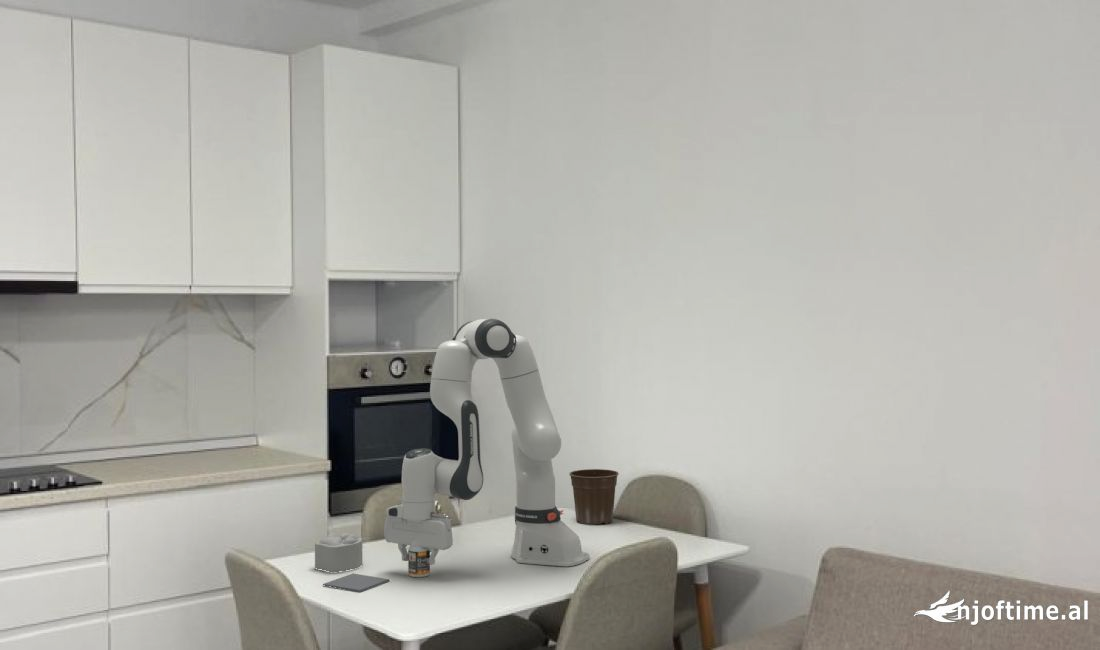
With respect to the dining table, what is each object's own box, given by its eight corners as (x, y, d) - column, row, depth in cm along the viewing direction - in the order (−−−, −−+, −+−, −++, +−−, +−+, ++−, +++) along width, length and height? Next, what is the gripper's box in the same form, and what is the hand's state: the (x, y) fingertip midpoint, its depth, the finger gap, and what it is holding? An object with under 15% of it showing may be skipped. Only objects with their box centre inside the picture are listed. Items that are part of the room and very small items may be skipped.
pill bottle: (420, 579, 283) (420, 541, 283) (403, 576, 286) (403, 538, 286) (434, 574, 288) (434, 537, 288) (417, 571, 291) (417, 534, 291)
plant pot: (565, 525, 349) (565, 476, 349) (572, 515, 365) (573, 468, 365) (615, 527, 347) (615, 477, 346) (620, 517, 363) (621, 469, 362)
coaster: (389, 581, 281) (389, 579, 281) (360, 592, 270) (360, 590, 270) (352, 575, 286) (352, 573, 286) (322, 586, 276) (322, 583, 276)
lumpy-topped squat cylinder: (309, 568, 294) (309, 537, 294) (346, 559, 304) (346, 529, 304) (334, 574, 288) (334, 542, 287) (371, 565, 298) (371, 534, 297)
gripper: (457, 512, 284) (457, 564, 285) (395, 505, 294) (395, 555, 295) (443, 516, 279) (443, 569, 279) (380, 508, 289) (380, 560, 289)
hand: (418, 562), depth 287 cm, fingers open, 7 cm apart
